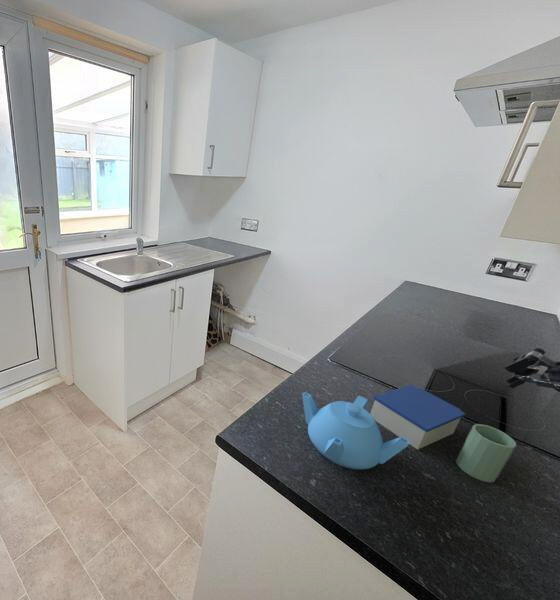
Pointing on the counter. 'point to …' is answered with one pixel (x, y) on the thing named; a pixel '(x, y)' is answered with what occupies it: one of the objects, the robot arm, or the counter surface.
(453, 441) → the counter surface
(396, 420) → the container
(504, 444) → the utensil cup
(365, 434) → the teapot
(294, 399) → the counter surface
